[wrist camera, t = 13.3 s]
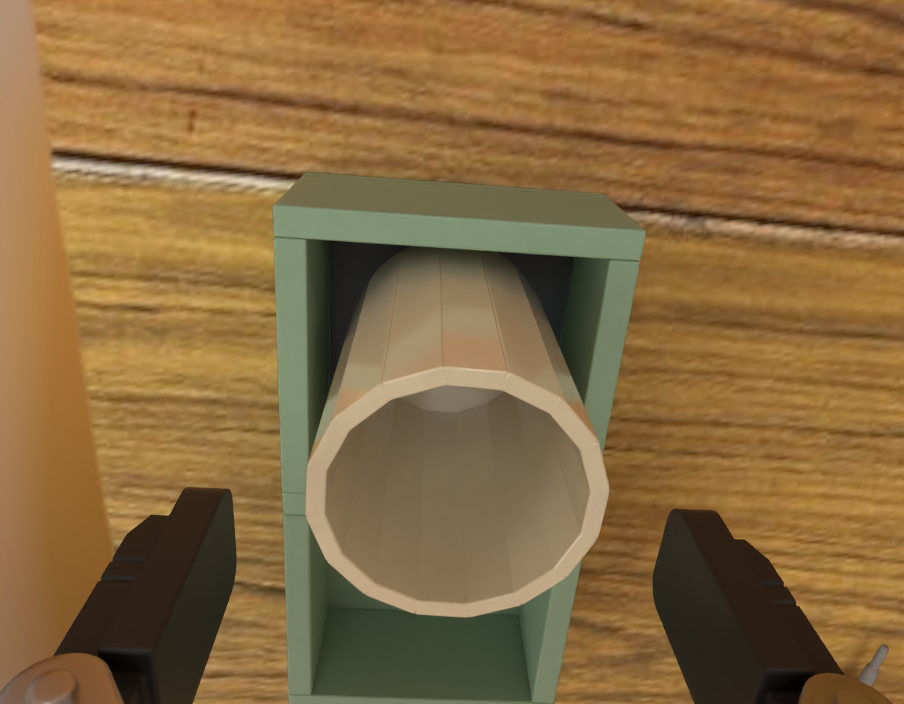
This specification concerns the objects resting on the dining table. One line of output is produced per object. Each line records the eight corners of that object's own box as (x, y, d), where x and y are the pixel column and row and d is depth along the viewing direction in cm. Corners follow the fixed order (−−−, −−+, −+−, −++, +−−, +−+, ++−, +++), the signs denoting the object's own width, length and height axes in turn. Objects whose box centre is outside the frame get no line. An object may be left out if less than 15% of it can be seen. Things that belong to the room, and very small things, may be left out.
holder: (305, 171, 20) (272, 204, 16) (604, 193, 21) (647, 230, 17) (310, 610, 27) (288, 711, 23) (533, 618, 28) (551, 719, 24)
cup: (322, 365, 22) (258, 554, 14) (407, 203, 20) (390, 314, 12) (482, 439, 23) (509, 652, 15) (577, 294, 21) (668, 450, 13)
